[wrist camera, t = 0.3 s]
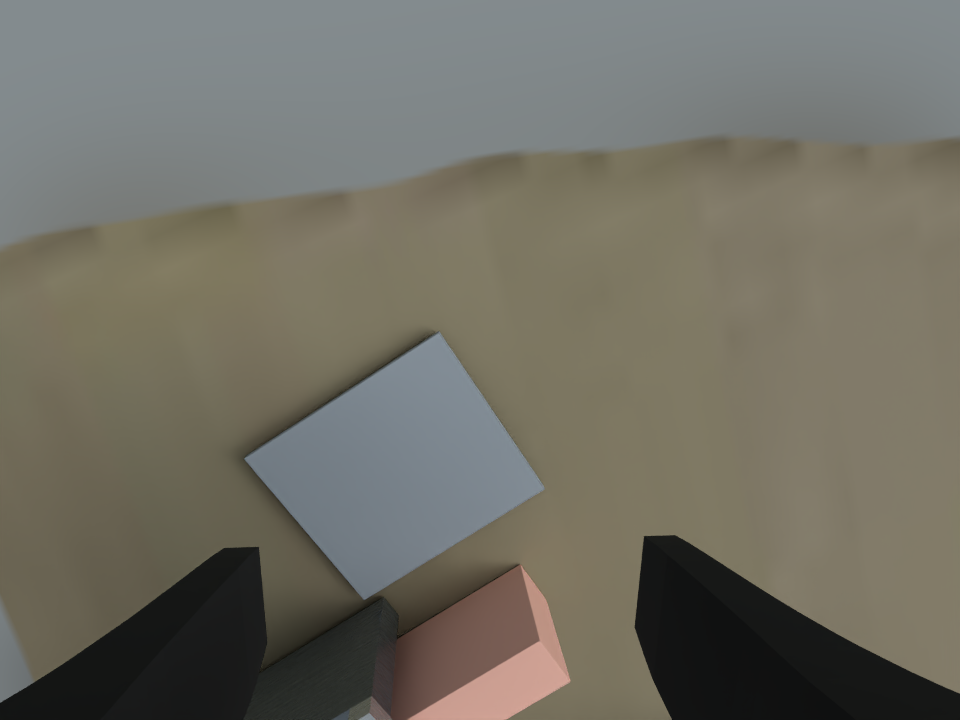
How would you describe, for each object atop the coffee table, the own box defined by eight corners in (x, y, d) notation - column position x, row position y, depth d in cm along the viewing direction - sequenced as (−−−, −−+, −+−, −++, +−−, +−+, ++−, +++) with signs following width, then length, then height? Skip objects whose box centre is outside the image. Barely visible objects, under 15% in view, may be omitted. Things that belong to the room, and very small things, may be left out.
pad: (543, 485, 21) (544, 489, 20) (365, 594, 21) (364, 600, 21) (438, 331, 19) (439, 333, 18) (247, 455, 19) (244, 458, 19)
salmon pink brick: (546, 599, 22) (570, 681, 18) (379, 699, 23) (369, 799, 19) (520, 564, 22) (540, 640, 18) (350, 667, 22) (333, 763, 18)
